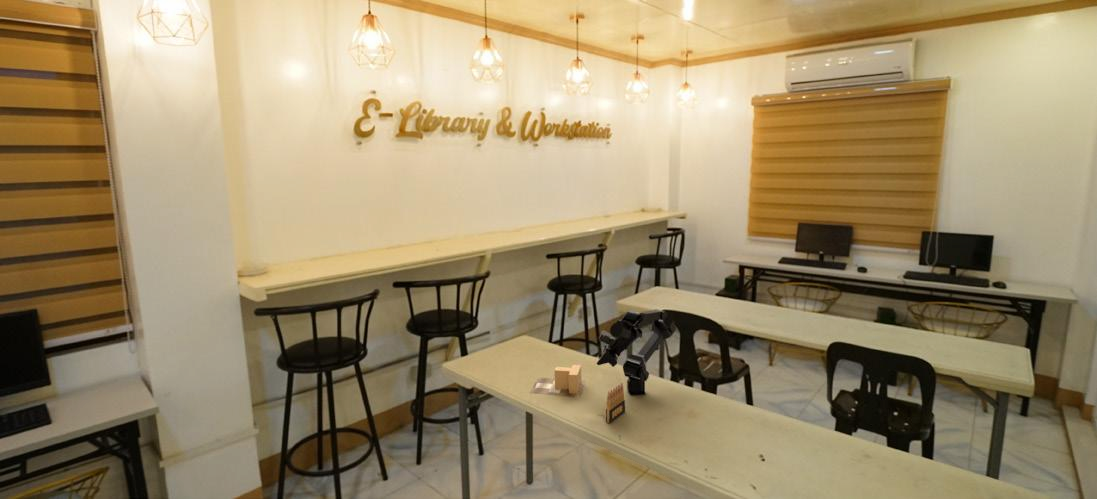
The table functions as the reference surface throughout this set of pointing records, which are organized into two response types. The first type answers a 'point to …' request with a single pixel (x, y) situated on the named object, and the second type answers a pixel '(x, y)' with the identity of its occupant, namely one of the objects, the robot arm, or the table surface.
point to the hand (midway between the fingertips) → (597, 364)
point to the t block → (568, 378)
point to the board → (553, 388)
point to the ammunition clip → (615, 404)
